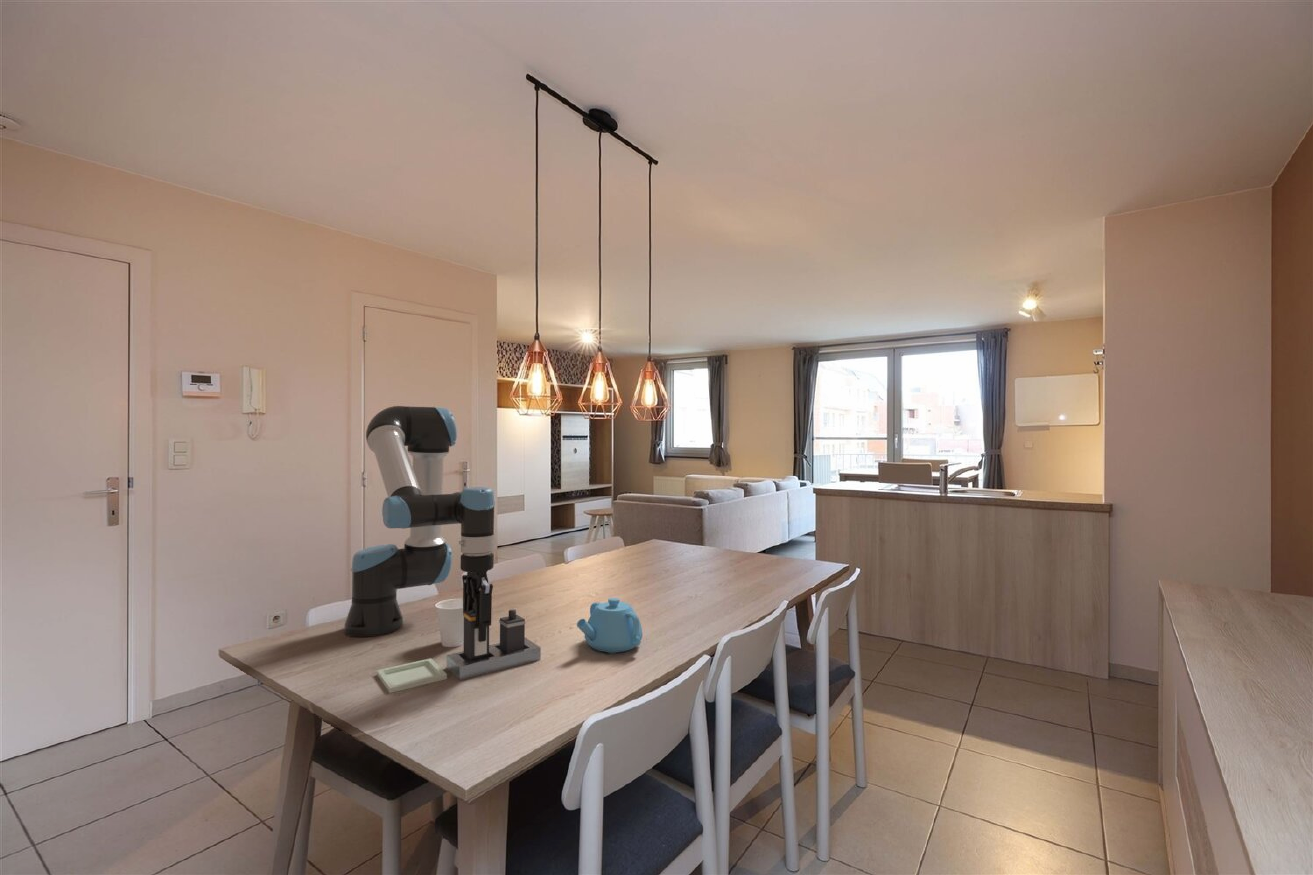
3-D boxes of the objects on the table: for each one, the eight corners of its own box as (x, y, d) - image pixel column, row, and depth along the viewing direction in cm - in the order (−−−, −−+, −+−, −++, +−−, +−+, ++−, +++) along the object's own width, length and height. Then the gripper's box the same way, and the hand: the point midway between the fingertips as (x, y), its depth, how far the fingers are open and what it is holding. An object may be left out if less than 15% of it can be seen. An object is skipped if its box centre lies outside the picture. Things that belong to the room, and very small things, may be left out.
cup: (461, 652, 145) (461, 610, 145) (426, 649, 147) (426, 607, 147) (480, 639, 154) (481, 599, 154) (447, 636, 156) (448, 597, 156)
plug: (462, 653, 134) (463, 602, 134) (482, 648, 137) (482, 599, 137) (470, 659, 130) (470, 607, 131) (489, 654, 133) (490, 603, 134)
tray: (377, 676, 130) (377, 670, 130) (430, 664, 137) (430, 658, 137) (389, 695, 120) (390, 688, 120) (447, 680, 128) (447, 674, 128)
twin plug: (499, 658, 140) (499, 609, 140) (516, 654, 143) (517, 606, 143) (506, 664, 136) (507, 614, 136) (524, 659, 139) (525, 611, 139)
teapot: (660, 648, 149) (660, 600, 149) (603, 670, 134) (603, 617, 134) (609, 630, 162) (610, 586, 163) (553, 648, 148) (553, 600, 148)
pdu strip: (446, 669, 134) (446, 654, 134) (524, 650, 146) (524, 637, 146) (459, 682, 127) (459, 666, 127) (540, 661, 139) (540, 647, 139)
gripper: (449, 548, 139) (448, 643, 138) (475, 560, 125) (474, 666, 125) (479, 545, 143) (478, 637, 143) (507, 556, 129) (506, 658, 129)
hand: (476, 650), depth 134 cm, fingers closed on plug, 4 cm apart
